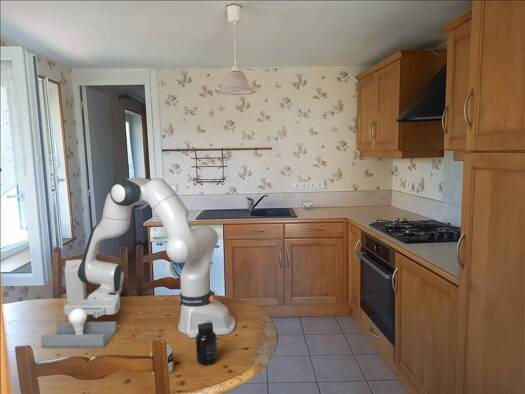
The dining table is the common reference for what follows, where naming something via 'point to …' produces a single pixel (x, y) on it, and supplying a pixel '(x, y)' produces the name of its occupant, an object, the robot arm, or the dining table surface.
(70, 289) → the milk carton
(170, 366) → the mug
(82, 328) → the lightbulb
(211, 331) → the supplement bottle
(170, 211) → the robot arm
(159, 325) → the dining table surface
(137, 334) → the dining table surface
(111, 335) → the trough
